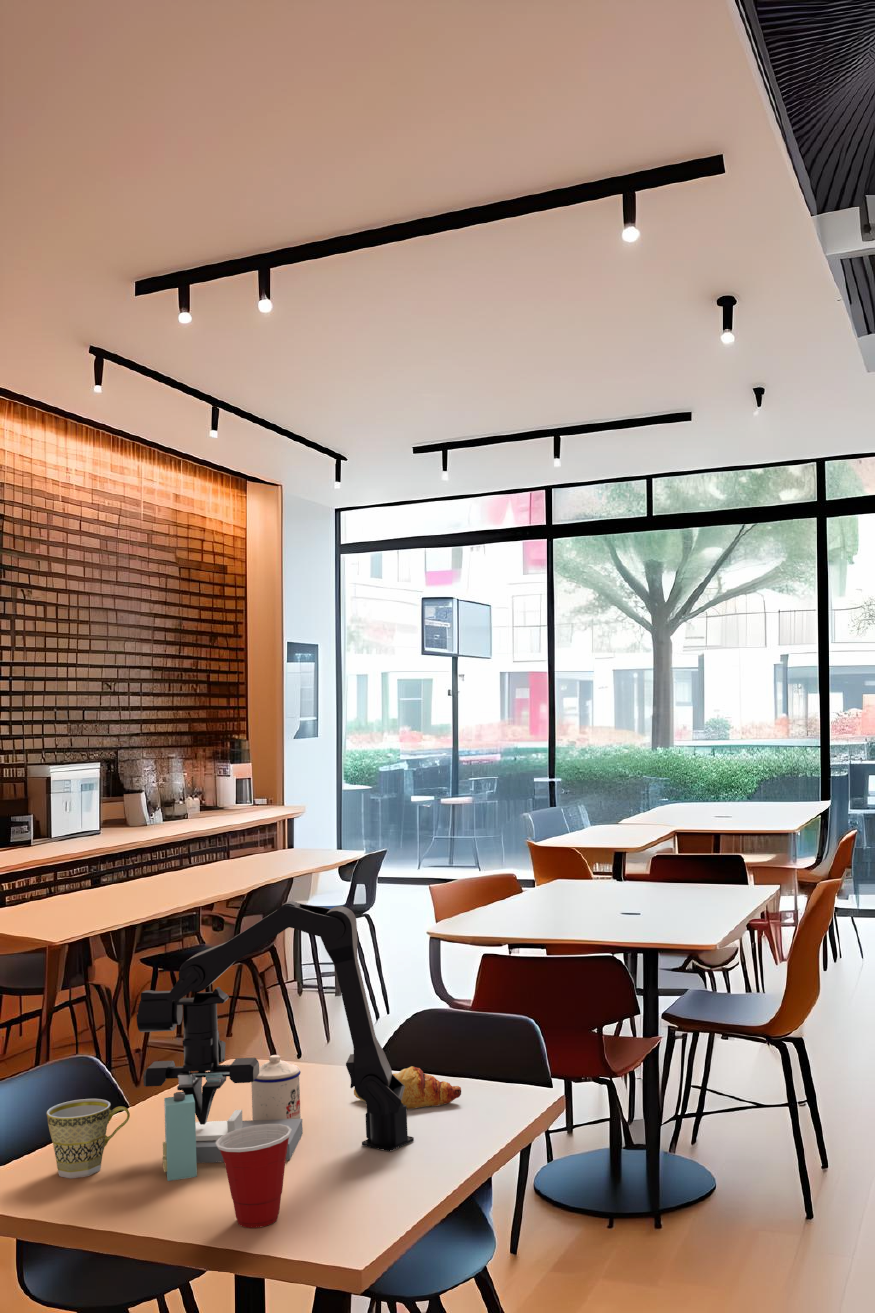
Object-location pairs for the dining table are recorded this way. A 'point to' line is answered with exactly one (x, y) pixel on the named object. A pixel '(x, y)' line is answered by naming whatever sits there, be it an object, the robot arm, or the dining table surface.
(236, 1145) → the plastic cup
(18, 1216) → the dining table surface
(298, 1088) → the teacup with lid
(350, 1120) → the dining table surface
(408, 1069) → the croissant
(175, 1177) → the teal rectangular bottle
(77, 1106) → the ceramic cup
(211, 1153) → the socket plate
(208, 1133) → the panel
